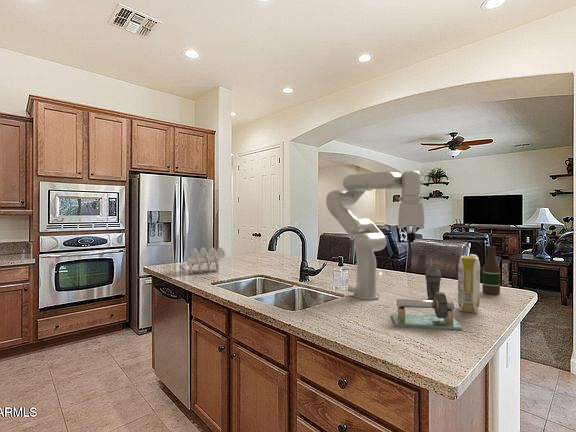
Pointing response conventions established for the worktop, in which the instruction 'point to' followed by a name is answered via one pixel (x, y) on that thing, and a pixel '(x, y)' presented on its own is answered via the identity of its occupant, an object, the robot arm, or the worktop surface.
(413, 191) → the robot arm
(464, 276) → the juice carton
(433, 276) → the beverage cup
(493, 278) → the beer bottle
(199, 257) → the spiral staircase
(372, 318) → the worktop surface
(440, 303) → the ring
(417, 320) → the teal plate with rod
